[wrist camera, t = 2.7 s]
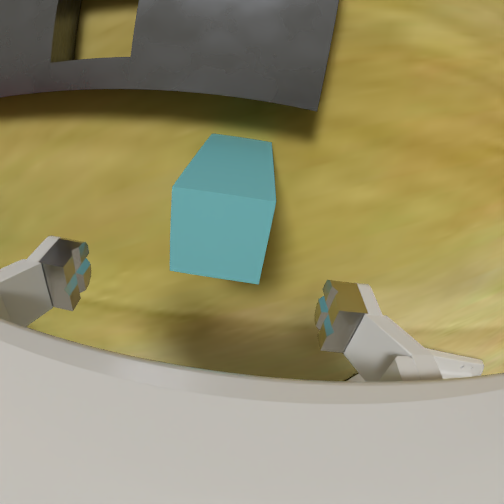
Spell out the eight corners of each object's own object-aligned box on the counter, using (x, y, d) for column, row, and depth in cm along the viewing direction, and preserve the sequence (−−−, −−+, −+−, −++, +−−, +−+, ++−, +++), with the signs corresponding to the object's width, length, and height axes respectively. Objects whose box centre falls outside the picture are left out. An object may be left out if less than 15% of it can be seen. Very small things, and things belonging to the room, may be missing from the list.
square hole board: (335, -29, 14) (346, -42, 11) (310, 105, 19) (316, 111, 16) (5, -11, 12) (-18, -12, 10) (-6, 95, 18) (-29, 102, 15)
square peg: (271, 142, 20) (276, 201, 12) (261, 196, 23) (258, 284, 14) (212, 133, 20) (172, 186, 12) (205, 187, 22) (169, 270, 14)
